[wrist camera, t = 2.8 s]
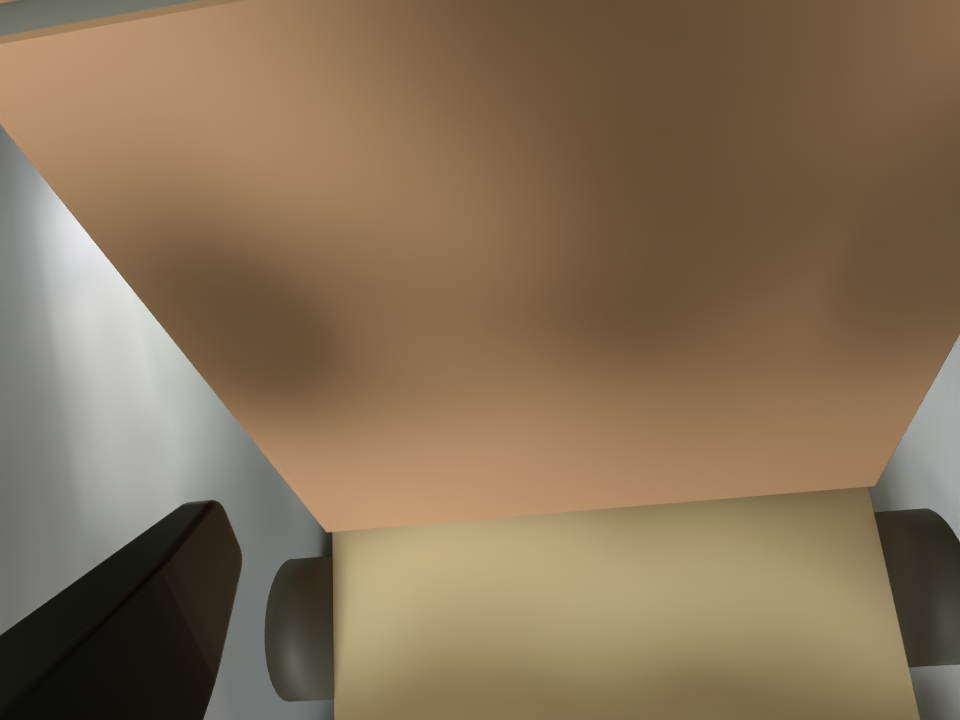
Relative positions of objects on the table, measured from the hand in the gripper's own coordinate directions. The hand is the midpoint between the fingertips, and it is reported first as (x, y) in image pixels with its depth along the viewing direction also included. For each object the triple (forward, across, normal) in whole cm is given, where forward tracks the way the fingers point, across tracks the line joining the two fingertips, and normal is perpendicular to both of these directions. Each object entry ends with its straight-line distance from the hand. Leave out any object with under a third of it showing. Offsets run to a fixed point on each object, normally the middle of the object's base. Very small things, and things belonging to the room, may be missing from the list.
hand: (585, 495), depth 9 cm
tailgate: (+9, 0, +7) cm, 11 cm away
